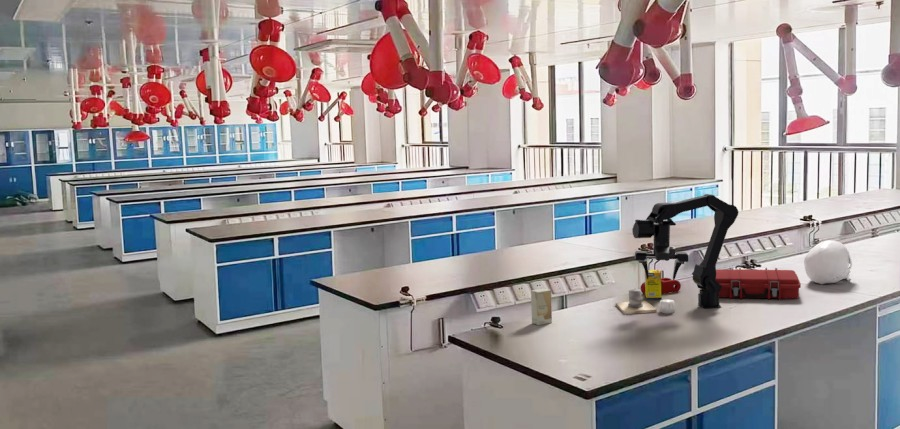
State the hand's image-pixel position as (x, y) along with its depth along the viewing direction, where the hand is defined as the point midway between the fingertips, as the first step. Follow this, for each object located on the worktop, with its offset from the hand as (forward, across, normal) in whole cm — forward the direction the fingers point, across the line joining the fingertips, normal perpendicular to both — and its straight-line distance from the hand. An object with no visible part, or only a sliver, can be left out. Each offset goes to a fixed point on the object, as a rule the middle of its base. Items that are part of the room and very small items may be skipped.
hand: (660, 279), depth 271 cm
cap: (+12, +3, -1) cm, 12 cm away
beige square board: (+12, -9, +4) cm, 16 cm away
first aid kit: (+10, +38, +27) cm, 48 cm away
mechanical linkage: (+12, +2, +32) cm, 34 cm away
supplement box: (+12, -1, +21) cm, 24 cm away
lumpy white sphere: (+8, +71, +47) cm, 85 cm away
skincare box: (+15, -42, -16) cm, 47 cm away
